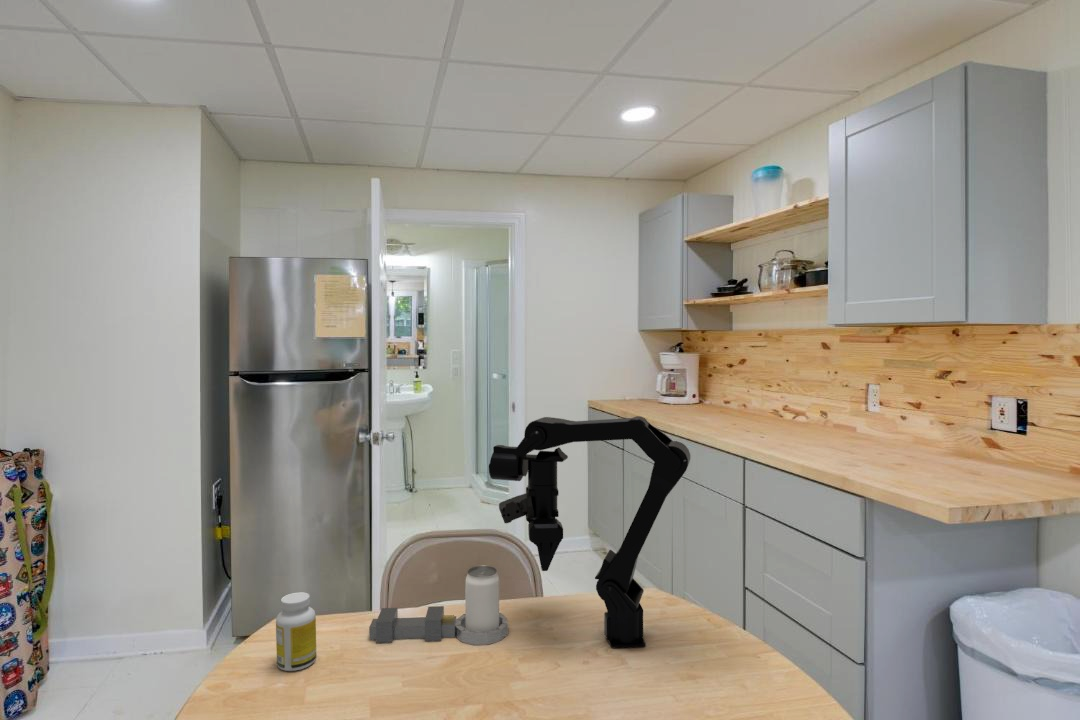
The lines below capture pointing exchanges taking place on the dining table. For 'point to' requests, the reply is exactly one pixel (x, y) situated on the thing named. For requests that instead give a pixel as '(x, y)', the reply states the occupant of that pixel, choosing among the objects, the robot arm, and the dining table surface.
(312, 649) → the pill bottle
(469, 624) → the can
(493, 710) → the dining table surface
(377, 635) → the shaft seat
